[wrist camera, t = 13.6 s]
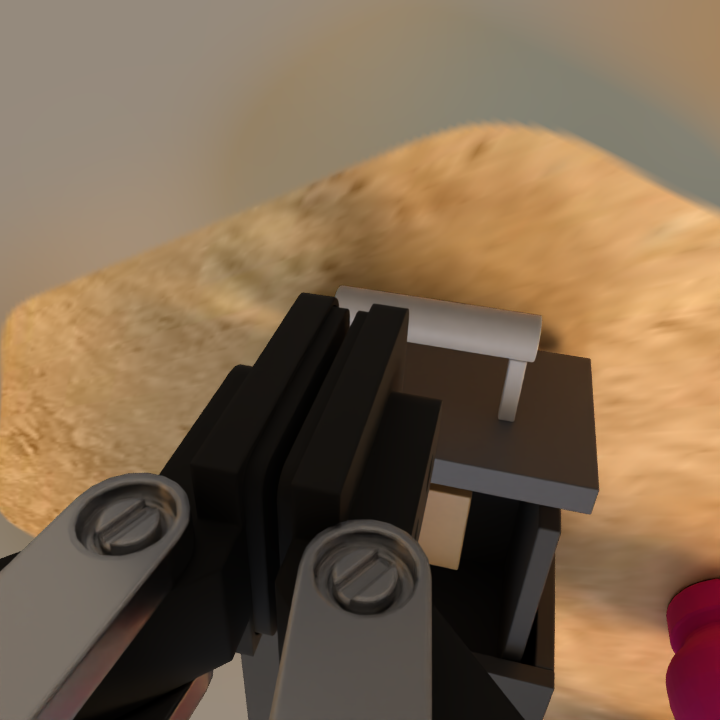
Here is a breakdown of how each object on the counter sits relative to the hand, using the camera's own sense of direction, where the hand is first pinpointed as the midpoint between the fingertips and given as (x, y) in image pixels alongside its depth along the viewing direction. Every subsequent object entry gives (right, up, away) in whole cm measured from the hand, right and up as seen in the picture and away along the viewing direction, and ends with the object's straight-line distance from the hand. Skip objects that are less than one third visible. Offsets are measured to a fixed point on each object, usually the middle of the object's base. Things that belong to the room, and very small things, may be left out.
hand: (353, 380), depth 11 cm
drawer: (+4, -2, +21) cm, 21 cm away
